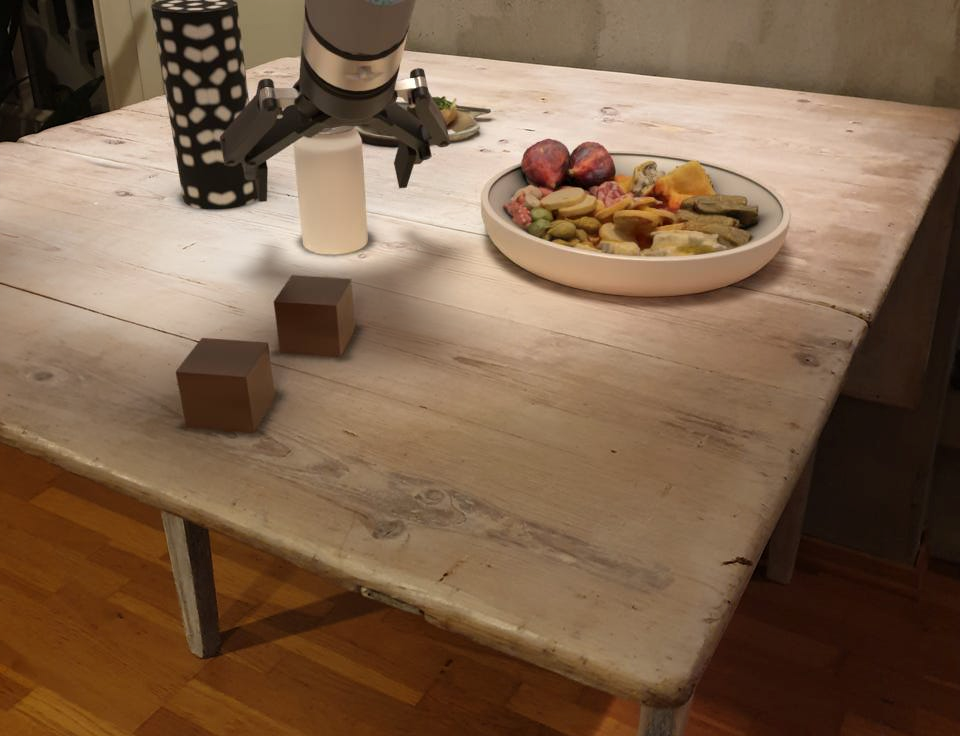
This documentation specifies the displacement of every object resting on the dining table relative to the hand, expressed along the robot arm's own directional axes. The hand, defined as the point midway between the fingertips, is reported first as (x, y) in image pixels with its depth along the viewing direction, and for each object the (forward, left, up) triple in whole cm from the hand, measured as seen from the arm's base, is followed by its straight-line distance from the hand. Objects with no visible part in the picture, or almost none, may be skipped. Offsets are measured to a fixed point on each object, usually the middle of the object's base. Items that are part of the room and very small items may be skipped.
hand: (331, 182), depth 93 cm
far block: (+19, -9, -6) cm, 22 cm away
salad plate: (-32, +24, -7) cm, 40 cm away
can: (0, 0, -7) cm, 7 cm away
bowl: (+14, +26, -7) cm, 30 cm away
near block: (+26, -19, -6) cm, 33 cm away
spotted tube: (-18, -6, -7) cm, 20 cm away
